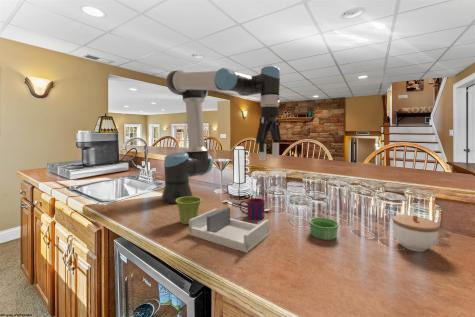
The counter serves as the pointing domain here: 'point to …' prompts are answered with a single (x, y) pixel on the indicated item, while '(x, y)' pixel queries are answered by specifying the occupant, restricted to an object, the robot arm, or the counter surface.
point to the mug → (255, 208)
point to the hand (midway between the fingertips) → (269, 158)
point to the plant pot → (188, 208)
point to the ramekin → (323, 228)
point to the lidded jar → (415, 232)
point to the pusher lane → (230, 232)
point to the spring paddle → (218, 220)
